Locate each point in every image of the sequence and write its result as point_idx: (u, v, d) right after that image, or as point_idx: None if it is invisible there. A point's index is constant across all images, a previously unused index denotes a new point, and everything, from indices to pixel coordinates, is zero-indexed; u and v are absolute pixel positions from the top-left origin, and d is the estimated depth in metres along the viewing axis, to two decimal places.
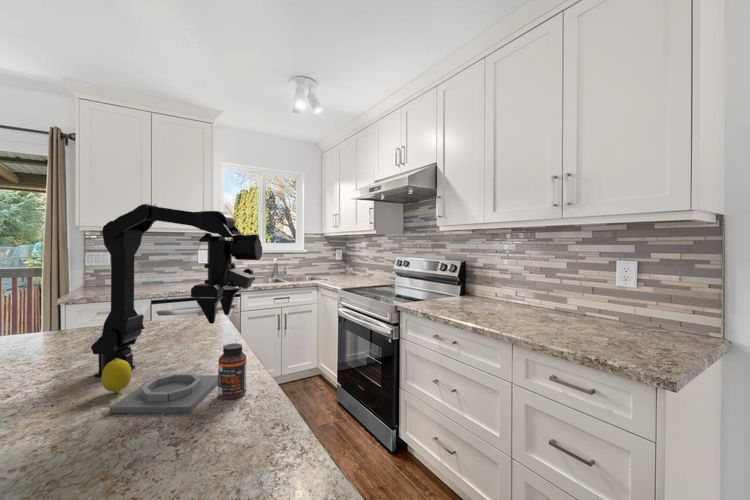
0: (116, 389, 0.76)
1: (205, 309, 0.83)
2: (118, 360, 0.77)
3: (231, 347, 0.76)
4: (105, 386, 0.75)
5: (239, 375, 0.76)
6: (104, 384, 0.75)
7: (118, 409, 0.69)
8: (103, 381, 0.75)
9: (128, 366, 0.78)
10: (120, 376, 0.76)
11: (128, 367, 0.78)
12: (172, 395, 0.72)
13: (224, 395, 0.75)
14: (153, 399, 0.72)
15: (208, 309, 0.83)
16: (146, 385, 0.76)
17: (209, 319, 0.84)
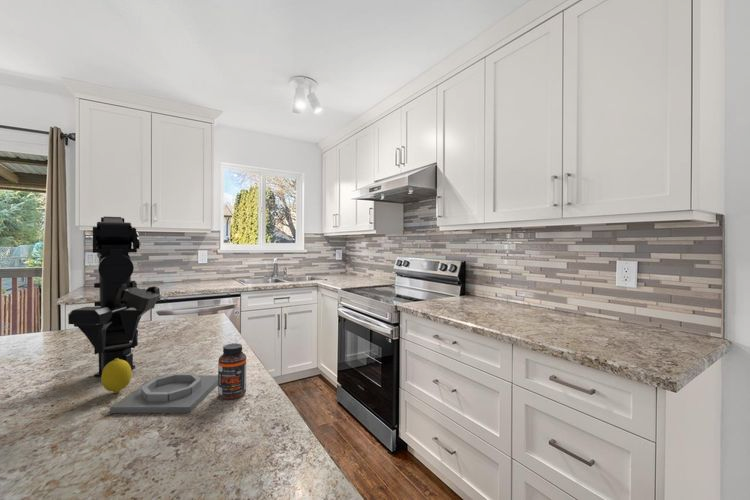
0: (116, 389, 0.76)
1: (90, 336, 0.71)
2: (118, 360, 0.77)
3: (231, 347, 0.76)
4: (105, 386, 0.75)
5: (239, 375, 0.76)
6: (104, 384, 0.75)
7: (118, 409, 0.69)
8: (103, 381, 0.75)
9: (128, 366, 0.78)
10: (120, 376, 0.76)
11: (128, 367, 0.78)
12: (172, 395, 0.72)
13: (224, 395, 0.75)
14: (153, 399, 0.72)
15: (94, 336, 0.72)
16: (146, 385, 0.76)
17: (97, 348, 0.72)
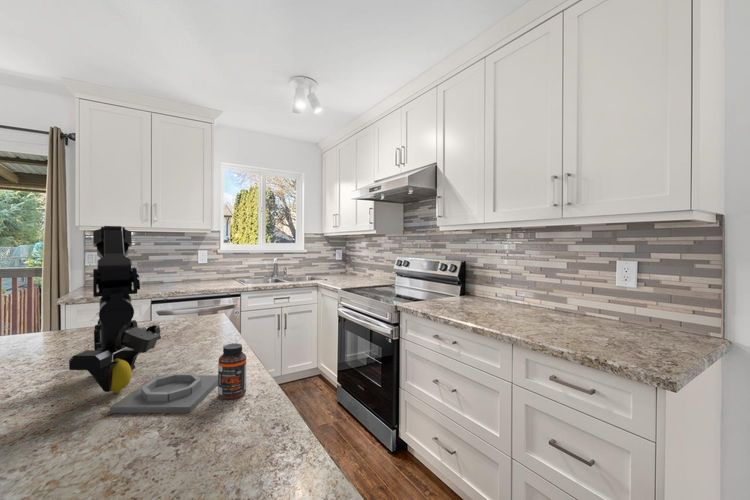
0: (116, 389, 0.76)
1: (97, 377, 0.73)
2: (118, 360, 0.77)
3: (231, 347, 0.76)
4: None
5: (239, 375, 0.76)
6: None
7: (118, 409, 0.69)
8: None
9: (128, 366, 0.78)
10: (120, 376, 0.76)
11: (128, 367, 0.78)
12: (172, 395, 0.72)
13: (224, 395, 0.75)
14: (153, 399, 0.72)
15: (101, 377, 0.73)
16: (146, 385, 0.76)
17: (103, 387, 0.74)
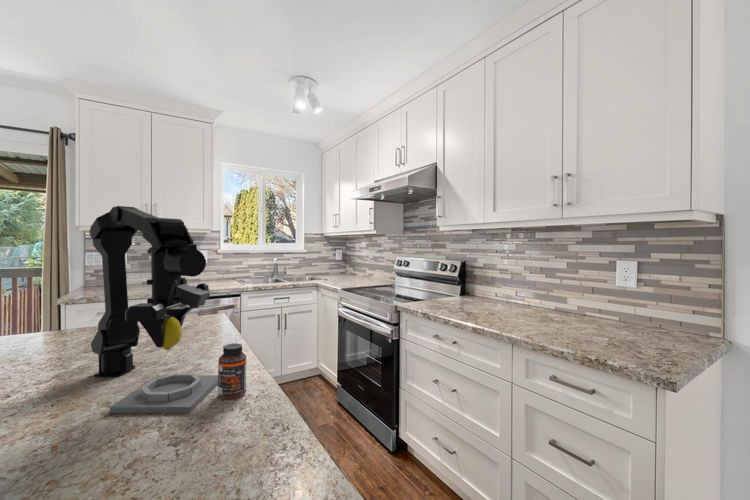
0: (168, 345, 0.75)
1: (151, 331, 0.72)
2: None
3: (231, 347, 0.76)
4: None
5: (239, 375, 0.76)
6: None
7: (118, 409, 0.69)
8: None
9: (178, 323, 0.77)
10: (172, 332, 0.75)
11: (179, 324, 0.77)
12: (172, 395, 0.72)
13: (224, 395, 0.75)
14: (153, 399, 0.72)
15: (154, 331, 0.72)
16: (146, 385, 0.76)
17: (156, 343, 0.73)
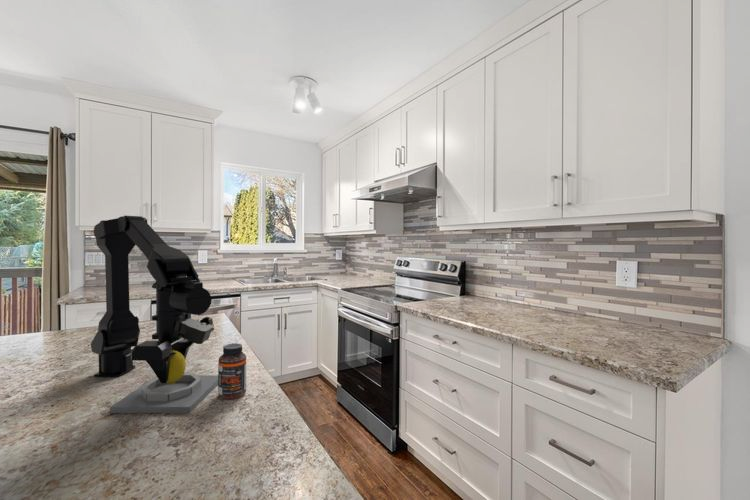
0: (172, 380, 0.75)
1: (155, 368, 0.73)
2: (173, 351, 0.77)
3: (231, 347, 0.76)
4: None
5: (239, 375, 0.76)
6: None
7: (118, 409, 0.69)
8: None
9: (183, 357, 0.77)
10: (176, 367, 0.75)
11: (183, 358, 0.77)
12: (172, 395, 0.72)
13: (224, 395, 0.75)
14: (153, 399, 0.72)
15: (159, 368, 0.73)
16: (146, 385, 0.76)
17: (161, 379, 0.74)
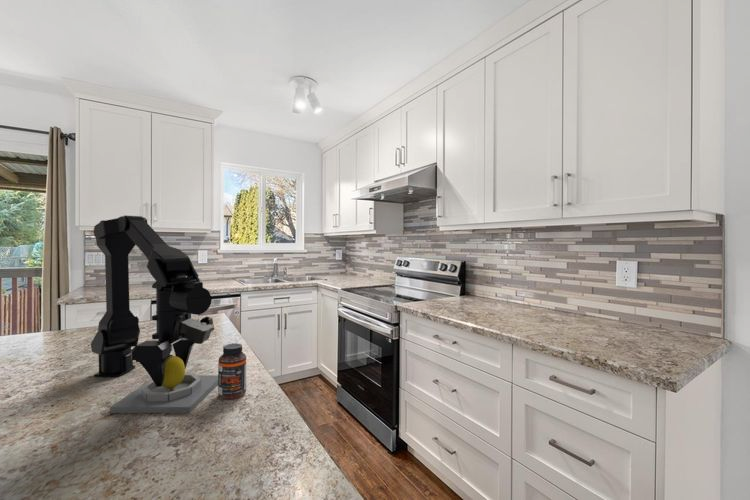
0: (172, 385, 0.75)
1: (151, 371, 0.71)
2: (172, 356, 0.76)
3: (231, 347, 0.76)
4: None
5: (239, 375, 0.76)
6: None
7: (118, 409, 0.69)
8: None
9: (182, 362, 0.77)
10: (176, 373, 0.75)
11: (182, 363, 0.77)
12: (172, 395, 0.72)
13: (224, 395, 0.75)
14: (153, 399, 0.72)
15: (154, 371, 0.71)
16: (146, 385, 0.76)
17: (156, 382, 0.72)
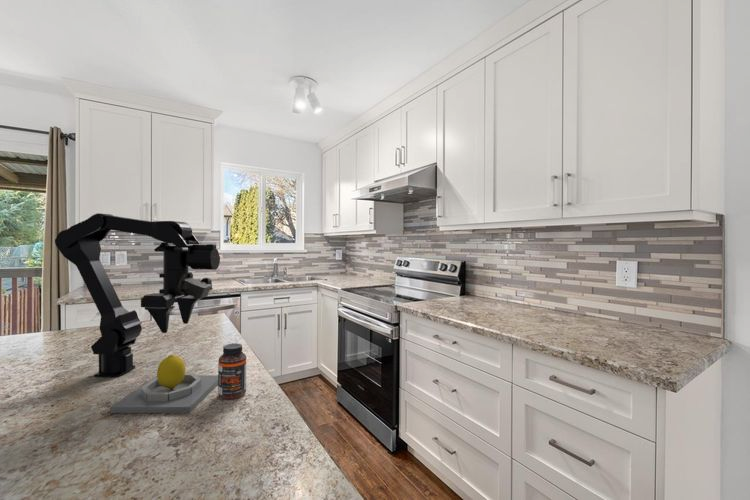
0: (172, 385, 0.75)
1: (157, 319, 0.84)
2: (173, 356, 0.77)
3: (231, 347, 0.76)
4: (161, 382, 0.75)
5: (239, 375, 0.76)
6: (160, 380, 0.74)
7: (118, 409, 0.69)
8: (159, 377, 0.74)
9: (182, 362, 0.77)
10: (176, 372, 0.75)
11: (182, 363, 0.77)
12: (172, 395, 0.72)
13: (224, 395, 0.75)
14: (153, 399, 0.72)
15: (160, 319, 0.84)
16: (146, 385, 0.76)
17: (161, 329, 0.85)
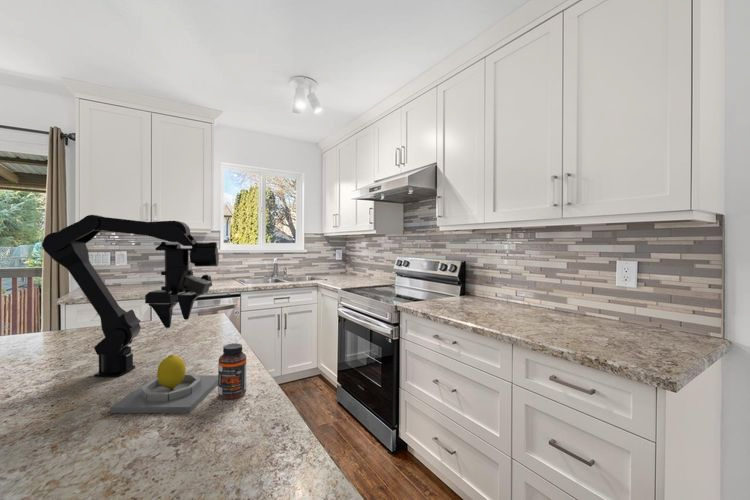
0: (172, 385, 0.75)
1: (160, 314, 0.87)
2: (173, 356, 0.77)
3: (231, 347, 0.76)
4: (161, 382, 0.75)
5: (239, 375, 0.76)
6: (160, 380, 0.74)
7: (118, 409, 0.69)
8: (159, 377, 0.74)
9: (182, 362, 0.77)
10: (176, 372, 0.75)
11: (183, 363, 0.77)
12: (172, 395, 0.72)
13: (224, 395, 0.75)
14: (153, 399, 0.72)
15: (163, 314, 0.88)
16: (146, 385, 0.76)
17: (165, 324, 0.88)
